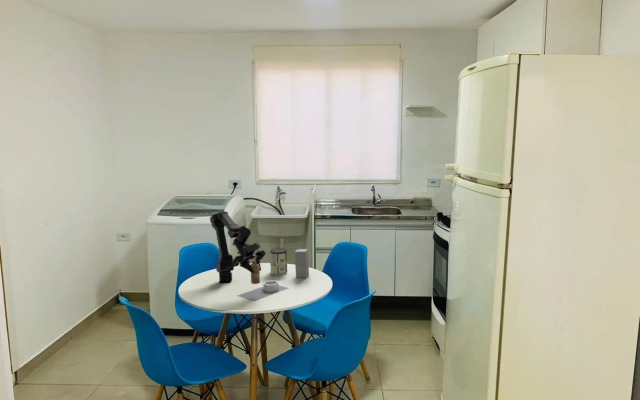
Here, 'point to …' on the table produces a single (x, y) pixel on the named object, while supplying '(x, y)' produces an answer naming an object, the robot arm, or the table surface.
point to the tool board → (263, 291)
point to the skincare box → (301, 263)
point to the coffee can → (278, 261)
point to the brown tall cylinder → (255, 273)
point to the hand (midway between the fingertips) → (256, 271)
